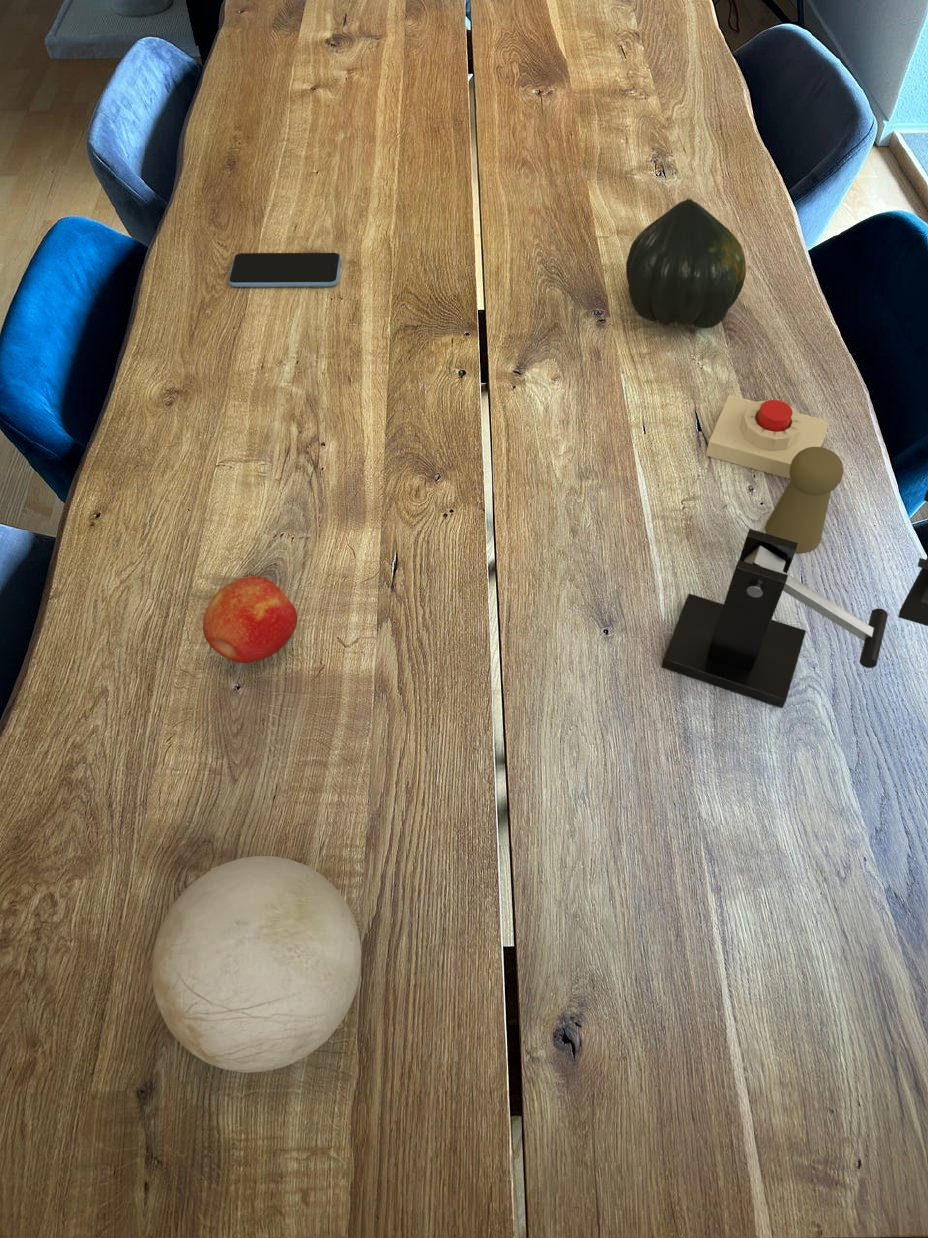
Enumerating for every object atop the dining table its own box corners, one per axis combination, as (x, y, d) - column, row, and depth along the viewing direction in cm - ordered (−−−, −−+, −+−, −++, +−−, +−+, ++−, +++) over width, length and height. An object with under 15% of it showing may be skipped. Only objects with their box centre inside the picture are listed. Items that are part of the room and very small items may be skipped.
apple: (313, 643, 101) (303, 593, 95) (246, 693, 98) (231, 645, 91) (263, 600, 105) (250, 548, 98) (197, 646, 101) (179, 596, 95)
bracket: (802, 639, 102) (846, 540, 90) (782, 708, 97) (825, 613, 85) (686, 602, 104) (713, 501, 93) (660, 667, 99) (686, 570, 88)
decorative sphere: (405, 1015, 79) (394, 948, 67) (233, 1138, 74) (188, 1089, 62) (309, 868, 87) (283, 784, 75) (147, 970, 82) (92, 897, 70)
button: (791, 416, 116) (795, 404, 115) (784, 435, 114) (788, 423, 113) (760, 407, 117) (764, 396, 116) (753, 427, 115) (756, 415, 114)
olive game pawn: (822, 517, 112) (851, 442, 103) (821, 557, 108) (852, 483, 99) (766, 508, 113) (791, 433, 104) (763, 547, 109) (789, 473, 100)
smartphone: (234, 251, 142) (341, 251, 142) (235, 257, 142) (341, 256, 142) (226, 282, 137) (337, 281, 137) (227, 288, 138) (337, 287, 138)
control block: (824, 435, 120) (834, 408, 117) (808, 484, 115) (818, 458, 112) (725, 408, 123) (731, 381, 120) (705, 455, 118) (711, 429, 115)
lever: (877, 623, 94) (895, 611, 92) (865, 672, 90) (884, 661, 88) (749, 543, 93) (765, 530, 91) (733, 590, 89) (749, 577, 87)
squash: (709, 333, 123) (754, 207, 119) (596, 301, 128) (637, 179, 124) (727, 350, 136) (769, 237, 132) (625, 320, 141) (662, 210, 137)
